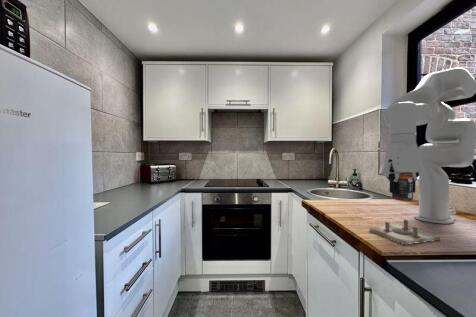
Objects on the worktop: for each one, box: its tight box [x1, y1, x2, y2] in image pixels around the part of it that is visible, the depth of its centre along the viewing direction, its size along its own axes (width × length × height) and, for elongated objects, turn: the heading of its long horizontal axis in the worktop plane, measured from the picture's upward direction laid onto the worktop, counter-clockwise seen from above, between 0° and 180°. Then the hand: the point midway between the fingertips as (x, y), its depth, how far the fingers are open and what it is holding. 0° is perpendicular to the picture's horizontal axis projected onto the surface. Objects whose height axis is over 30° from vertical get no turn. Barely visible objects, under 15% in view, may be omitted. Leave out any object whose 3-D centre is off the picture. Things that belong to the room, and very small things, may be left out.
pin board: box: [369, 219, 441, 245], centre depth 82 cm, size 14×14×4 cm
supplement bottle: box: [391, 172, 414, 202], centre depth 82 cm, size 6×6×11 cm
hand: (402, 192), depth 82 cm, fingers closed on supplement bottle, 5 cm apart
